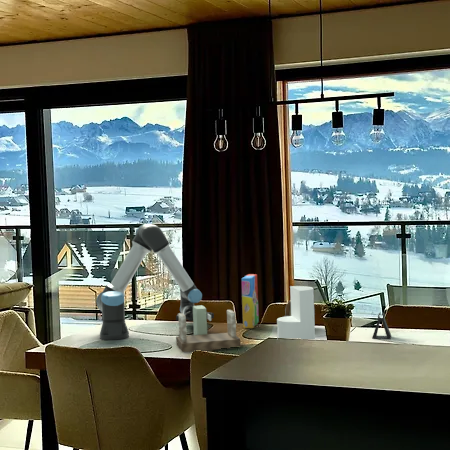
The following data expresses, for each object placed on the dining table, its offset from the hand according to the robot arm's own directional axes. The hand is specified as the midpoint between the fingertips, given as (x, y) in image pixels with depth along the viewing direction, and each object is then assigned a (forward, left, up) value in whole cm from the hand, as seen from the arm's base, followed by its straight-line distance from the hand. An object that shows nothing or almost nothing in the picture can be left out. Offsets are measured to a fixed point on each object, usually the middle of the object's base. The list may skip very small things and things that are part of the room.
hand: (197, 319), depth 390 cm
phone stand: (+84, -41, -9) cm, 94 cm away
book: (0, -8, -8) cm, 12 cm away
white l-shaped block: (+38, -49, -9) cm, 63 cm away
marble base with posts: (0, -28, -8) cm, 30 cm away
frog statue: (+53, -7, -9) cm, 54 cm away
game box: (+33, +18, -9) cm, 38 cm away
